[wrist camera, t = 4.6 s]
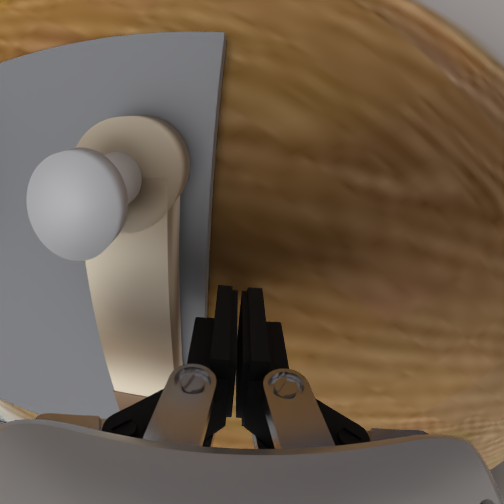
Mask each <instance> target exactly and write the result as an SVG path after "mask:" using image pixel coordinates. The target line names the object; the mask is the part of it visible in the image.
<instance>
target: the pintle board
mask: <svg viewBox="0 0 504 504" xmlns="http://www.w3.org/2000/svg"><path fill="white" fill-rule="evenodd" d="M226 45H227V40H226V36H225V32H162V33H146V34H134V35H124V36H115V37H108V38H101V39H94V40H88V41H83V42H77V43H72V44H67V45H63V46H58V47H54V48H50V49H46V50H42V51H38V52H34V53H31V54H27V55H24V56H20V57H17V58H14V59H11V60H8V61H5V62H2V63H0V399H2V400H4V401H7V402H9V403H11V404H14V405H16V406H19V407H21V408H24V409H26V410H29V411H31V412H34V413H37V414H40V415H41V414H43V413H56V414H70V415H90V416H99V417H100V419H107V418H108V417H110V416H111V415H113V414H115V413H117V412H119V411H120V410H119V407H118V404H117V401H116V398H115V395H114V392H113V391H114V387H113V384H112V381H111V377H110V374H109V370H108V367H107V363H106V360H105V356H104V352H103V348H102V344H101V340H100V336H99V332H98V328H97V323H96V319H95V314H94V309H93V304H92V299H91V294H90V288H89V282H88V276H87V270H86V263H85V260H89V259H92V258H94V257H97V256H98V255H100V254H101V253H102V252H103V251H104V250H106V248H107V247H108V246H109V245H110V244H111V243H112V242H113V241H114V240H115V238H116V237H117V236H118V235H119V234H120V232H121V230H122V229H123V226H124V224H125V222H126V218H127V213H128V204H129V203H130V202H131V201H132V200H134V199H135V197H136V196H137V195H138V193H139V191H140V188H141V184H142V176H141V171H140V168H139V166H138V164H137V163H136V162H135V160H134V159H133V158H132V157H130V156H129V155H127V154H125V153H122V152H110V153H107V154H104V155H103V154H101V153H99V152H98V151H95V150H93V149H89V148H80V147H79V148H76V146H77V144H78V142H79V141H80V139H81V138H82V136H83V135H84V134H85V133H86V132H87V131H88V130H89V129H90V128H92V127H93V126H94V125H96V124H98V123H99V122H101V121H104V120H106V119H109V118H113V117H121V116H139V115H145V116H153V117H157V118H159V119H162V120H164V121H166V122H167V123H169V124H170V125H172V126H173V127H174V128H175V129H176V130H177V131H178V132H179V134H180V135H181V136H182V138H183V140H184V142H185V144H186V146H187V149H188V153H189V158H190V171H189V177H188V181H187V183H186V186H185V188H184V189H183V191H182V193H181V194H180V229H179V279H180V319H181V343H182V361H183V365H184V364H187V360H188V354H189V349H190V343H191V338H192V333H193V328H194V322H195V318H196V317H204V318H207V310H208V280H209V256H210V235H211V217H212V200H213V185H214V171H215V157H216V145H217V133H218V122H219V111H220V100H221V90H222V80H223V71H224V62H225V53H226Z"/></svg>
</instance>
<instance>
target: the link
mask: <svg viewBox="0 0 504 504" xmlns="http://www.w3.org/2000/svg"><path fill="white" fill-rule="evenodd" d="M79 147H80V148H89V149H93V150H95V151H98V152H99V153H101V154H103V155H104V154H107V153H110V152H122V153H125V154H127V155H129V156H130V157H132V158H133V159H134V160H135V162H136V163H137V164H138V166H139V168H140V171H141V176H142V184H141V188H140V191H139V193H138V195H137V196H136V197H135V199H134V200H132V201H131V202H130V203H129V204H128V213H127V218H126V222H125V224H124V226H123V229H122V230H121V232H120V234H119V235H118V236H117V237H116V238H115V240H114V241H113V242H112V243H111V244H110V245H109V246H108V247H107V248H106V250H104V251H103V252H102V253H101V254H100V255H98V256H97V257H94V258H92V259H89V260H85V263H86V270H87V276H88V282H89V288H90V294H91V299H92V304H93V309H94V314H95V319H96V323H97V328H98V332H99V336H100V340H101V344H102V348H103V352H104V356H105V360H106V363H107V367H108V370H109V374H110V377H111V381H112V384H113V387H114V391H113V392H114V395H115V398H116V401H117V404H118V407H119V410H120V411H121V410H123V409H125V408H127V407H129V406H131V405H133V404H135V403H137V402H139V401H141V400H143V399H145V398H147V397H149V396H150V395H152V394H154V393H156V392H158V391H160V390H162V389H164V387H165V385H166V383H167V381H168V378H169V376H170V374H171V373H172V371H173V370H174V369H176V368H177V367H179V366H181V365H183V361H182V343H181V319H180V279H179V229H180V194H181V193H182V191H183V189H184V188H185V186H186V183H187V181H188V177H189V171H190V158H189V153H188V149H187V146H186V144H185V142H184V140H183V138H182V136H181V135H180V134H179V132H178V131H177V130H176V129H175V128H174V127H173V126H172V125H170V124H169V123H167V122H166V121H164V120H162V119H159V118H157V117H153V116H145V115H139V116H121V117H113V118H109V119H106V120H104V121H101V122H99V123H98V124H96V125H94V126H93V127H92V128H90V129H89V130H88V131H87V132H86V133H85V134H84V135H83V136H82V138H81V139H80V141H79V142H78V144H77V146H76V148H79Z"/></svg>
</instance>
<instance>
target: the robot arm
mask: <svg viewBox="0 0 504 504" xmlns="http://www.w3.org/2000/svg"><path fill="white" fill-rule="evenodd" d="M237 305H238V290H232V286H222V285H218V292H217V301H216V309H215V318H204V317H196V318H195V322H194V328H193V333H192V338H191V343H190V349H189V354H188V360H187V364H184V365H181V366H179V367H177V368H176V369H174V370H173V371H172V373H171V374H170V376H169V378H168V381H167V383H166V385H165V387H164V389H162V390H160V391H158V392H156V393H154V394H152V395H150V396H149V397H147V398H145V399H143V400H141V401H139V402H137V403H135V404H133V405H131V406H129V407H127V408H125V409H123V410H121V411H119V412H117V413H115V414H113V415H111V416H110V417H108V418H107V419H100V417H99V416H90V415H70V414H56V413H43V414H41V415H39V416H37V417H36V418H35V419H24V420H15V421H11V422H7V423H5V424H3V425H1V426H0V504H504V503H503V500H502V497H501V495H500V492H499V490H498V488H497V486H496V483H495V481H494V479H493V477H492V475H491V472H490V470H489V469H488V467H487V465H486V463H485V461H484V460H483V458H482V456H481V455H480V453H479V452H478V450H477V449H476V448H475V447H474V446H473V445H472V444H471V443H470V442H468V441H467V440H465V439H462V438H459V437H455V436H448V435H441V434H428V433H426V432H424V431H421V430H399V429H379V428H371V430H370V431H366V430H365V429H364V428H363V427H361V426H360V425H358V424H357V423H355V422H353V421H352V420H350V419H348V418H346V417H345V416H343V415H341V414H340V413H338V412H336V411H335V410H333V409H332V408H330V407H328V406H327V405H325V404H323V403H322V402H320V401H319V400H317V399H315V397H314V394H313V392H312V390H311V387H310V385H309V382H308V381H307V379H306V378H305V377H304V376H303V375H302V374H301V373H299V372H297V371H295V370H291V369H289V366H288V360H287V354H286V349H285V343H284V337H283V331H282V326H281V323H280V322H266V318H265V309H264V300H263V292H262V288H250V287H248V289H247V291H242V295H241V305H240V315H239V326H238V336H237ZM235 375H236V418H242V426H244V427H245V428H246V429H248V430H249V431H250V432H251V433H253V434H252V436H253V443H254V447H255V449H234V448H216V447H212V446H213V442H214V438H215V433H216V432H217V431H219V430H220V429H221V428H223V427H224V426H225V422H226V417H231V416H232V406H233V395H234V385H235Z"/></svg>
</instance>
